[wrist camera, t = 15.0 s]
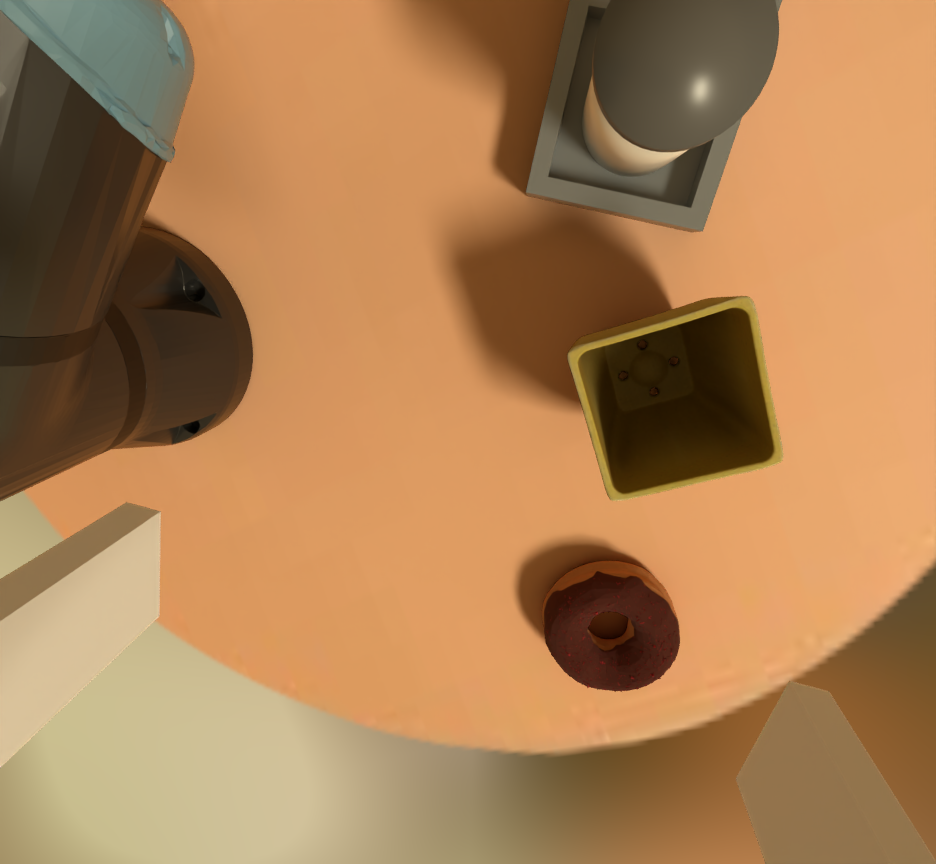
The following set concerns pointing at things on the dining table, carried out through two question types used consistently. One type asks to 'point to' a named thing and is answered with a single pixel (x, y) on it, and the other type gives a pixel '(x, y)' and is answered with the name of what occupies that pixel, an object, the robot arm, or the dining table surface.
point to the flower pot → (678, 398)
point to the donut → (622, 658)
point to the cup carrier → (650, 104)
